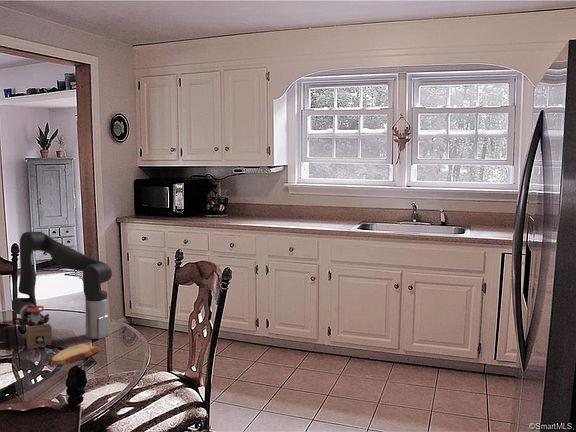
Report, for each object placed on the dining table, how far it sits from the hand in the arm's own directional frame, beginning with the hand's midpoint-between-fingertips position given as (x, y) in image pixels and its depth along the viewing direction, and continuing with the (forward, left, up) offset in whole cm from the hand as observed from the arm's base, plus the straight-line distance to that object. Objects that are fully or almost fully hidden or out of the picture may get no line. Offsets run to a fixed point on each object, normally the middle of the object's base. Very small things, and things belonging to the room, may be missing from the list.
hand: (37, 324), depth 222 cm
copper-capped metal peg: (-1, 0, -8) cm, 8 cm away
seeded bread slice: (-26, +3, -9) cm, 27 cm away
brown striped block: (-4, +2, -8) cm, 9 cm away
